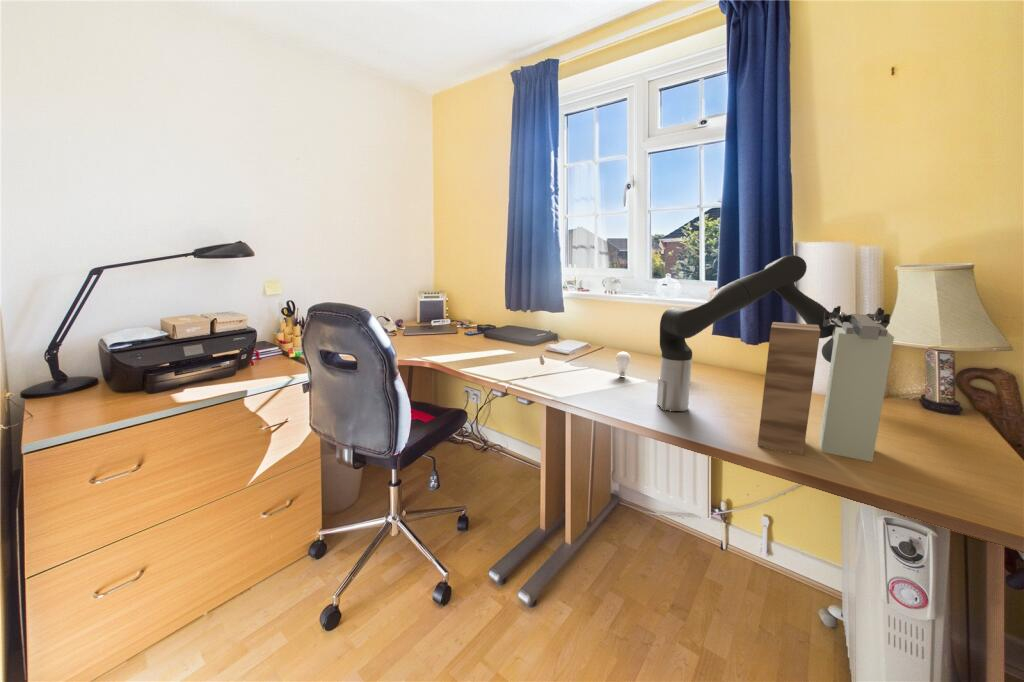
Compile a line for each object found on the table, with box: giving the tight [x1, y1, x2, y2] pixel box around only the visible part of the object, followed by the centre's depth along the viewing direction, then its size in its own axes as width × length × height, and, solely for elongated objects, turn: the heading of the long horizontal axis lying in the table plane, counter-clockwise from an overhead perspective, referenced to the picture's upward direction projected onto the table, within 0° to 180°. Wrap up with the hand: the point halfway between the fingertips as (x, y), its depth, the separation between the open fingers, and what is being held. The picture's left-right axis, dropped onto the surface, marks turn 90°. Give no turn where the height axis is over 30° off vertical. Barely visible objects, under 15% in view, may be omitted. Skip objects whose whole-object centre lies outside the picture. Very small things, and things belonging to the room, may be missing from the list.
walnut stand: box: [757, 321, 820, 456], centre depth 109 cm, size 10×10×32 cm
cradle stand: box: [819, 322, 895, 463], centre depth 105 cm, size 10×10×32 cm
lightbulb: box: [614, 351, 632, 377], centre depth 173 cm, size 6×6×11 cm
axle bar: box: [850, 313, 880, 340], centre depth 102 cm, size 22×3×3 cm, turn 146°
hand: (859, 310), depth 111 cm, fingers open, 8 cm apart
